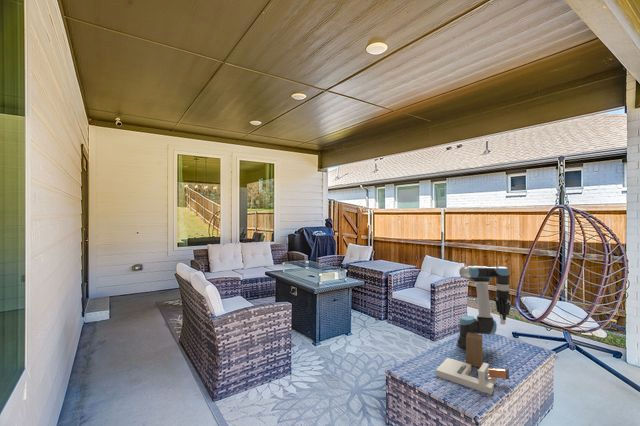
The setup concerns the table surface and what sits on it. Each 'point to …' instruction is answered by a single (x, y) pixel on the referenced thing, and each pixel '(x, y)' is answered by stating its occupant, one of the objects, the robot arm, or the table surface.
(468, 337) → the wooden block
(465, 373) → the stand
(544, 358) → the table surface
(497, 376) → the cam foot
